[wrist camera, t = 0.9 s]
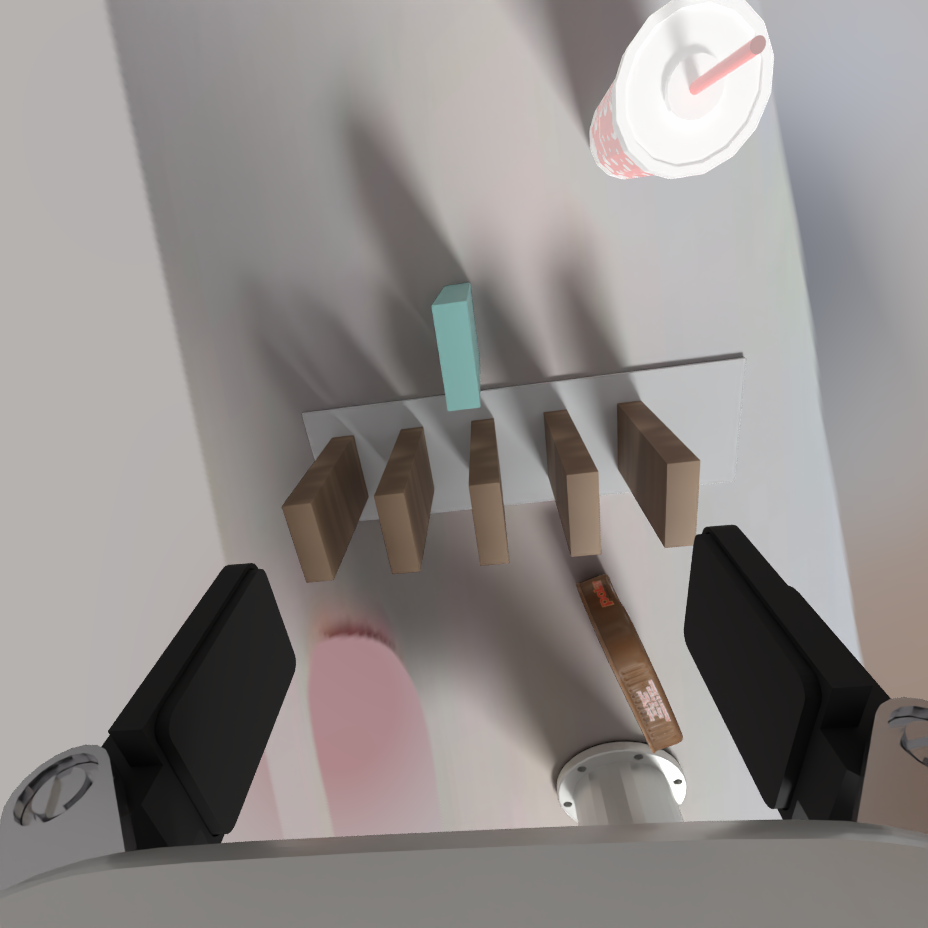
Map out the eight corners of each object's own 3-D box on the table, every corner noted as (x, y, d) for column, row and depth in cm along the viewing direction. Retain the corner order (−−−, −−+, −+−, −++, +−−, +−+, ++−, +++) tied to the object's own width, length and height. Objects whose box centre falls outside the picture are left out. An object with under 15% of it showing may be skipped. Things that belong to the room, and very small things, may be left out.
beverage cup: (613, 40, 26) (740, -145, 14) (709, 100, 27) (913, -20, 14) (555, 162, 29) (616, 103, 16) (645, 213, 30) (772, 196, 17)
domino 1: (353, 434, 36) (310, 503, 26) (368, 496, 38) (333, 579, 28) (331, 437, 36) (281, 506, 27) (348, 499, 38) (306, 582, 29)
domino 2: (423, 426, 35) (403, 493, 26) (434, 489, 37) (420, 571, 28) (400, 429, 35) (373, 496, 26) (413, 491, 37) (392, 574, 28)
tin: (566, 563, 40) (587, 640, 32) (604, 549, 39) (634, 624, 32) (625, 688, 45) (655, 779, 38) (659, 677, 45) (697, 768, 37)
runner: (744, 357, 33) (746, 358, 33) (732, 479, 37) (734, 481, 36) (302, 412, 35) (301, 414, 35) (333, 522, 39) (332, 524, 39)
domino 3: (470, 282, 31) (466, 300, 22) (480, 360, 33) (480, 407, 24) (444, 285, 32) (431, 305, 22) (456, 363, 34) (448, 411, 24)
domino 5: (566, 409, 34) (598, 471, 25) (570, 474, 36) (601, 554, 27) (543, 412, 34) (566, 475, 25) (548, 477, 36) (571, 557, 27)
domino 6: (641, 400, 34) (700, 460, 25) (640, 466, 36) (695, 544, 27) (616, 403, 34) (667, 464, 25) (617, 469, 36) (664, 547, 27)
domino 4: (493, 417, 35) (499, 482, 26) (501, 482, 37) (509, 562, 28) (471, 420, 35) (468, 485, 26) (480, 484, 37) (480, 565, 28)
